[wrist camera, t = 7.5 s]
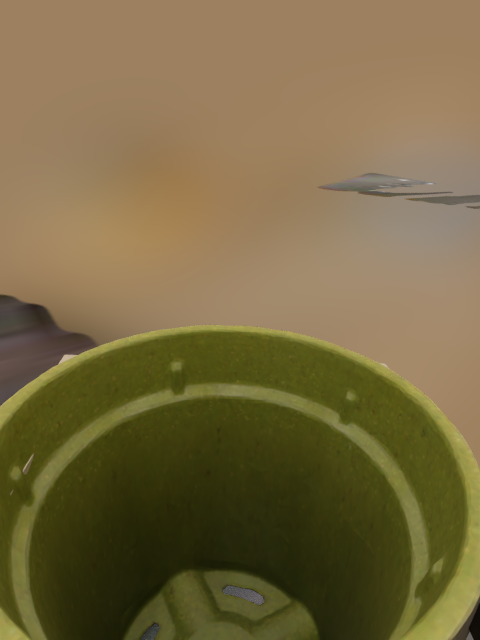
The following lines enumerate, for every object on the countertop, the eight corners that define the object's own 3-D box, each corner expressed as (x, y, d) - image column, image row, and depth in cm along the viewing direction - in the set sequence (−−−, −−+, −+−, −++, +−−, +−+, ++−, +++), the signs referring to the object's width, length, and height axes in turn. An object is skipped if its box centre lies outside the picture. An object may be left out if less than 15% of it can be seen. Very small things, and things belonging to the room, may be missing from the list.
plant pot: (-66, 865, 9) (-250, 597, 5) (136, 507, 17) (119, 304, 14) (411, 1083, 7) (629, 901, 4) (384, 566, 16) (441, 349, 12)
